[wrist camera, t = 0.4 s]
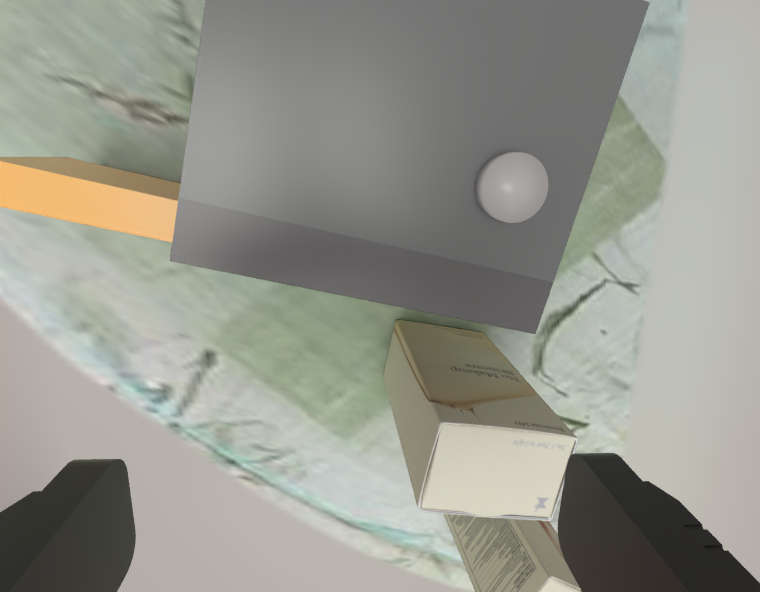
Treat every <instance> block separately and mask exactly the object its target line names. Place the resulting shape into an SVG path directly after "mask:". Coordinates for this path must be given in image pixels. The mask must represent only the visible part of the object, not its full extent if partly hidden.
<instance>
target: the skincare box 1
mask: <svg viewBox="0 0 760 592" xmlns="http://www.w3.org/2000/svg"><path fill="white" fill-rule="evenodd" d="M383 378H384V382H385V386H386V389H387V393H388V397H389V401H390V405H391V408H392V412H393V416H394V419H395V423H396V427H397V431H398V434H399V438H400V442H401V446H402V449H403V453H404V457H405V461H406V464H407V468H408V472H409V476H410V480H411V483H412V487H413V491H414V495H415V499H416V503H417V507H418V509H419V510H420V511H422V512H434V513H444V514H454V515H468V516H476V517H489V518H509V519H525V520H541V521H551V520H552V518H553V515H554V511H555V509H556V507H557V504H558V501H559V498H560V495H561V492H562V490H563V486H564V479H565V472H566V466H567V462H568V459H569V457H570V456H571V455H572V454H574V453H575V450H576V447H577V444H578V439H577V437H576V436H575V435H574V434H573V433H572V432H571V431H570V429H569V428H568V427H567V426H566V425H565V424H564V423H563V422H562V421H561V419H560V418H559V417H558V416H557V415H556V414H555V413H554V411H553V410H552V409H551V408H550V407H549V406H548V405H547V404H546V403H545V401H544V400H543V399H542V398H541V397H540V396H539V395H538V394H537V392H536V391H535V390H534V389H533V388H532V387H531V386H530V384H529V383H528V382H527V381H526V380H525V379H524V378H523V376H522V375H521V374H520V373H519V372H518V371H517V370H516V369H515V367H514V366H513V365H512V364H511V363H510V362H509V361H508V360H507V359H506V357H505V356H504V355H503V354H502V353H501V352H500V350H499V349H498V348H497V347H496V346H495V345H494V344H493V343H492V341H491V340H490V339H489V338H488V337H487V336H486V335H485V334H484V333H481V332H475V331H469V330H463V329H457V328H451V327H445V326H438V325H432V324H425V323H418V322H411V321H404V320H396V321H395V326H394V330H393V334H392V338H391V342H390V347H389V351H388V356H387V360H386V365H385V370H384V375H383Z"/></svg>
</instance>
